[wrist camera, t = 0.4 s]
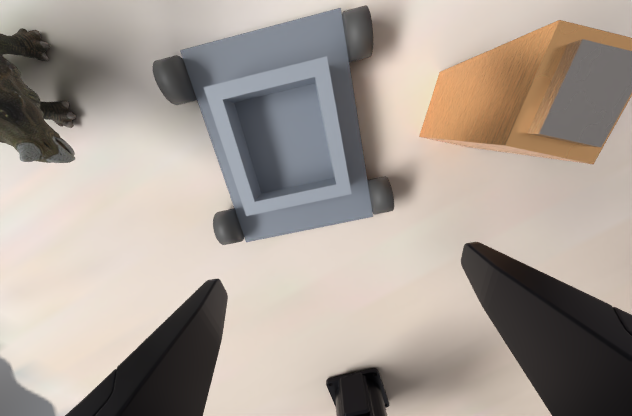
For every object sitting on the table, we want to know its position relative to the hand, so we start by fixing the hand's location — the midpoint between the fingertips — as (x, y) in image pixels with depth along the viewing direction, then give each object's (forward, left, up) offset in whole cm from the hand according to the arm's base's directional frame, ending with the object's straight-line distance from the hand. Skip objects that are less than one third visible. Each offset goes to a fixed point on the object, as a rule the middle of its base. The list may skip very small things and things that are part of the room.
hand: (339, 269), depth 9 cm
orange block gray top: (+3, -12, -14) cm, 19 cm away
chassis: (+5, +2, -14) cm, 15 cm away
